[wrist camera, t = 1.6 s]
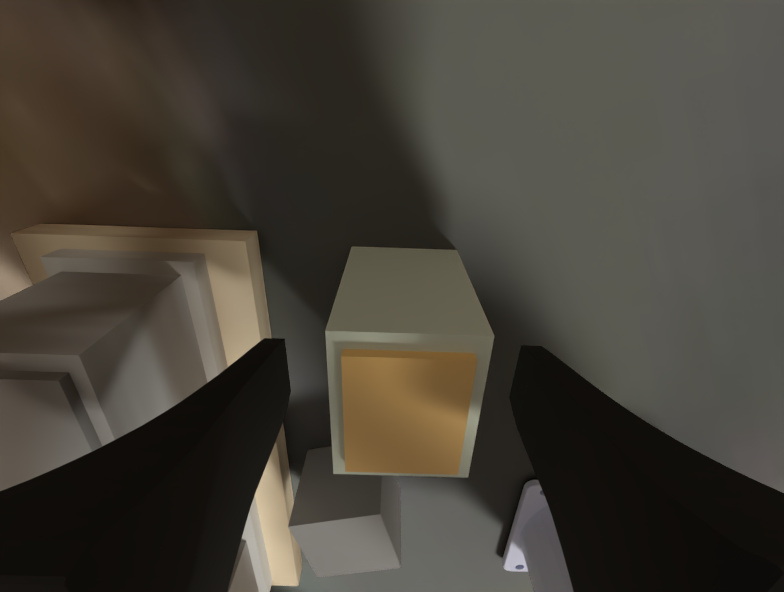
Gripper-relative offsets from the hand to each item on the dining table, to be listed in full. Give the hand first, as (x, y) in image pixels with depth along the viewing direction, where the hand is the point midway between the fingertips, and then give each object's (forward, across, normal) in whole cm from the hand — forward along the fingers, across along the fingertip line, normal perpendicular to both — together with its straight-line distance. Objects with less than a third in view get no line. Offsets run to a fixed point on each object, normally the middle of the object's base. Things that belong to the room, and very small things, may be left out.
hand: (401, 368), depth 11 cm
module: (+4, 0, 0) cm, 4 cm away
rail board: (+4, +9, +8) cm, 13 cm away
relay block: (+4, +2, +10) cm, 11 cm away
